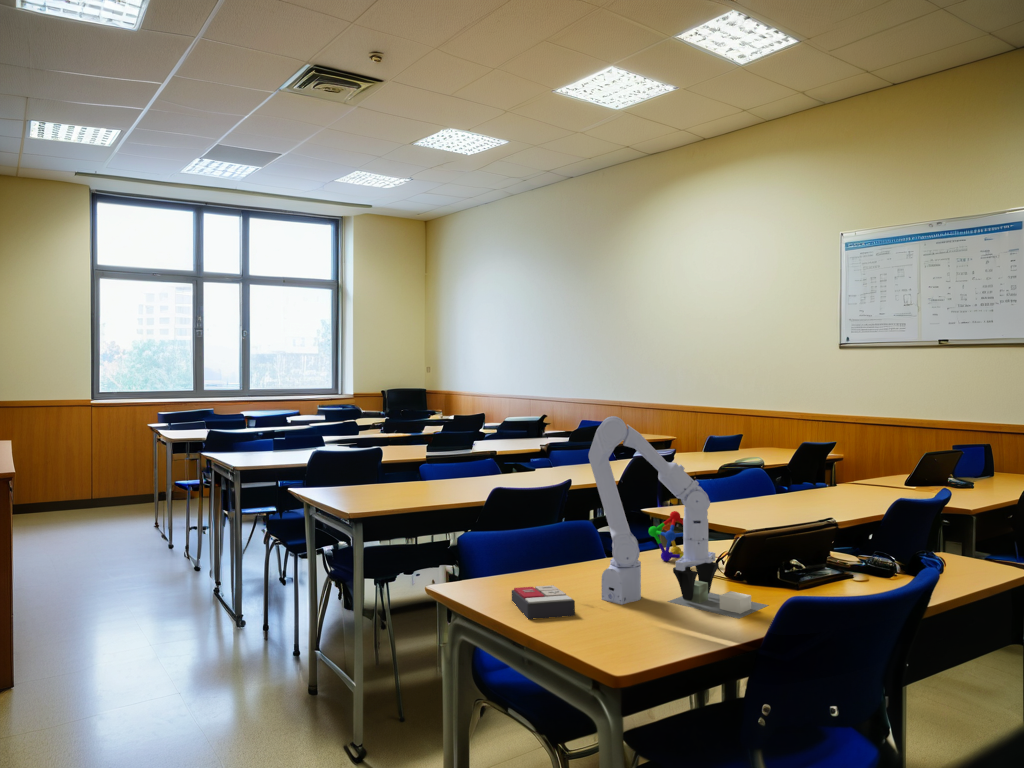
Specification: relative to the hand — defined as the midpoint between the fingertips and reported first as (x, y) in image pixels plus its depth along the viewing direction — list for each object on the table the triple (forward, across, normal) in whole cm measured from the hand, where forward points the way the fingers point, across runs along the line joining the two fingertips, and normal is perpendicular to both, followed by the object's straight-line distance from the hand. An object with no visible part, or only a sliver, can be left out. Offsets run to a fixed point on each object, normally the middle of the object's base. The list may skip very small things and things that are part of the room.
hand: (696, 596), depth 167 cm
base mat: (+2, +1, -5) cm, 5 cm away
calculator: (+2, -28, +24) cm, 37 cm away
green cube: (+1, 0, 0) cm, 1 cm away
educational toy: (+2, +35, +28) cm, 45 cm away
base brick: (+1, 0, -10) cm, 10 cm away
